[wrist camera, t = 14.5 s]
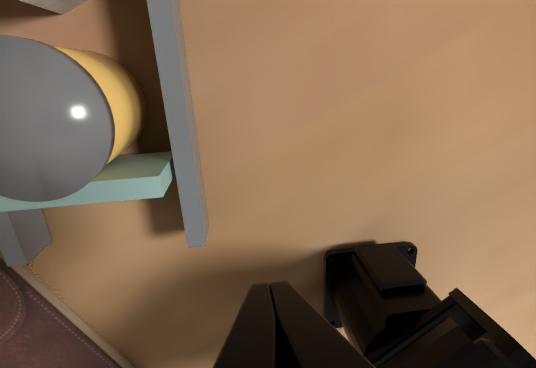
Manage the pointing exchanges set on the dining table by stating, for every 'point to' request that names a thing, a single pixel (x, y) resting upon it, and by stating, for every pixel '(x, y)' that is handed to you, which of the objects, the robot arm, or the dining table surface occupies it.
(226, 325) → the dining table surface
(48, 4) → the grey angular block
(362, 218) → the dining table surface
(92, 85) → the jar
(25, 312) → the notebook
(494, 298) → the dining table surface
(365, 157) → the dining table surface
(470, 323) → the robot arm
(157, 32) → the lane
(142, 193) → the bar
